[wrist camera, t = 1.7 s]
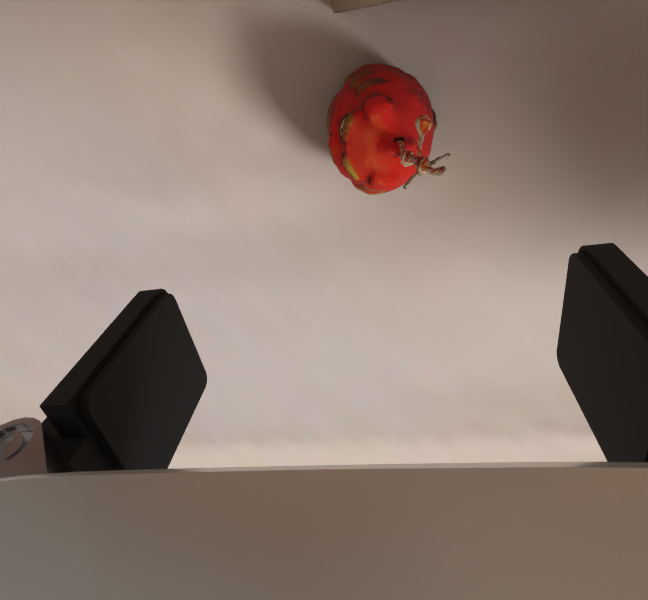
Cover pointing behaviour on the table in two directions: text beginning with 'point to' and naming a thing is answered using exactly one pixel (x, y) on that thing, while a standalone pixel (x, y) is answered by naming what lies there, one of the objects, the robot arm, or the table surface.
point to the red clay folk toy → (382, 129)
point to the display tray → (355, 4)
